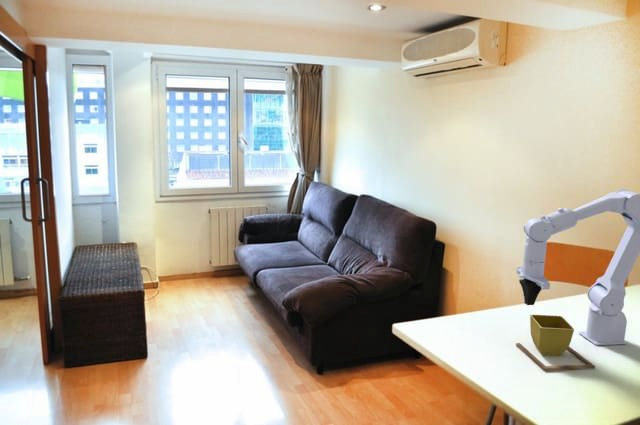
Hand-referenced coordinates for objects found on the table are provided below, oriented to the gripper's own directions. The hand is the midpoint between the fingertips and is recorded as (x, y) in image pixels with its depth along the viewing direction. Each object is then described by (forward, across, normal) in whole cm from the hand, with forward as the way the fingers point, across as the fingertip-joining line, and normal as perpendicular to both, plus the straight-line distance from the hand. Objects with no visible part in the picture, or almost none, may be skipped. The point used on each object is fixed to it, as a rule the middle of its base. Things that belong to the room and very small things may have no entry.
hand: (529, 304), depth 142 cm
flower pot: (+10, +11, 0) cm, 15 cm away
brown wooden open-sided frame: (+9, +14, 0) cm, 17 cm away
